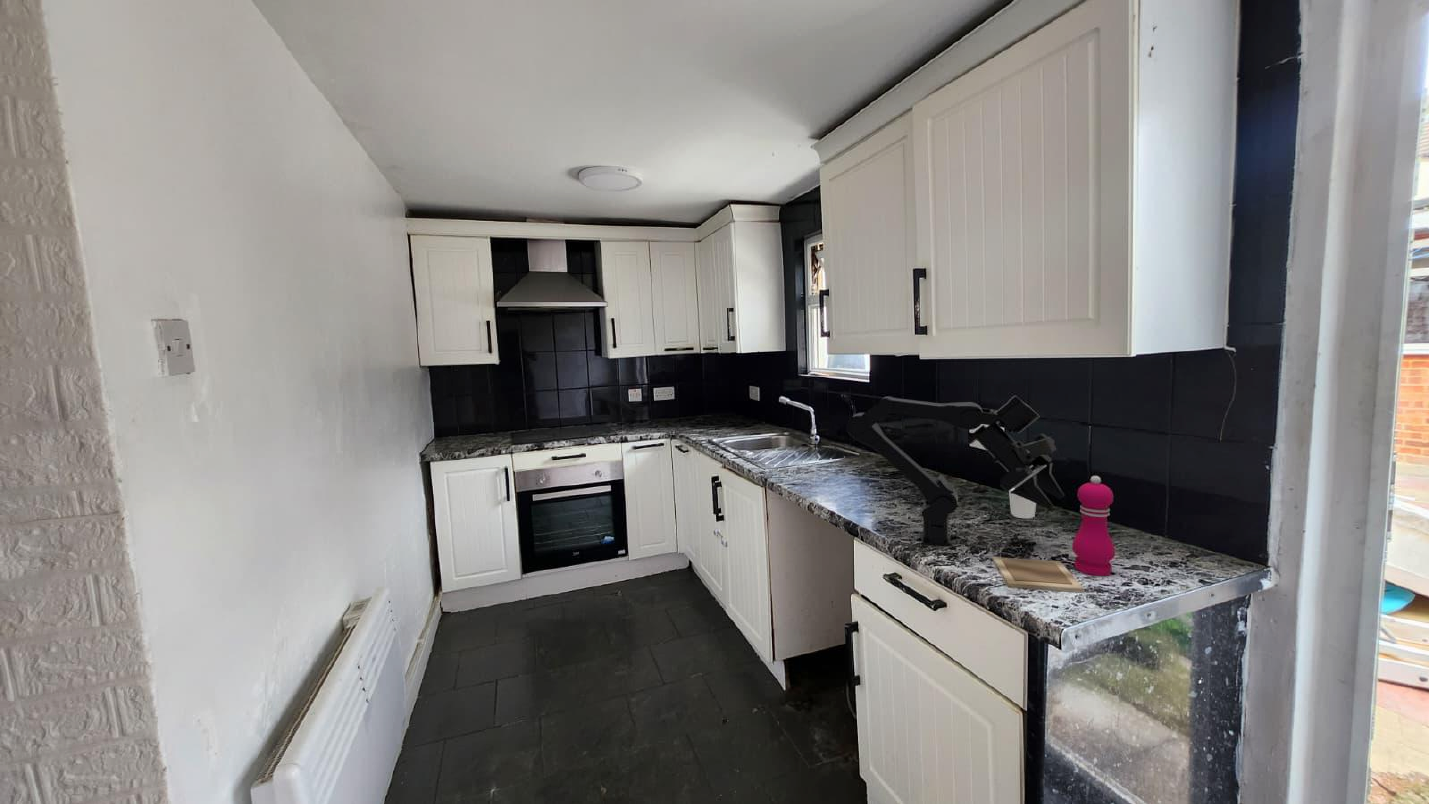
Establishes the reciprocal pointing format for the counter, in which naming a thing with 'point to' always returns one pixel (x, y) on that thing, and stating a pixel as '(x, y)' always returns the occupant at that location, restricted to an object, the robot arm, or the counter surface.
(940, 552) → the counter surface
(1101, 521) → the pepper mill
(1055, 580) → the beech tray
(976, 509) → the counter surface
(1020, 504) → the white cup
